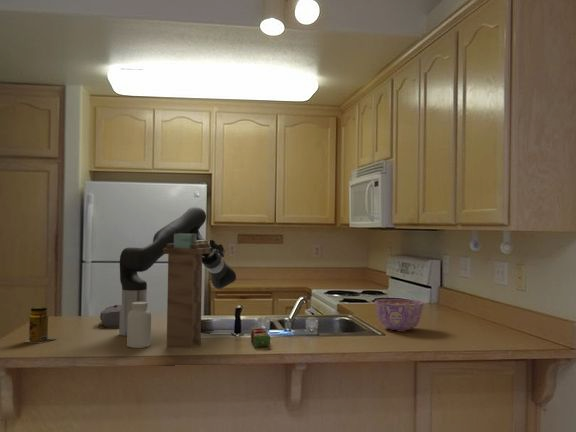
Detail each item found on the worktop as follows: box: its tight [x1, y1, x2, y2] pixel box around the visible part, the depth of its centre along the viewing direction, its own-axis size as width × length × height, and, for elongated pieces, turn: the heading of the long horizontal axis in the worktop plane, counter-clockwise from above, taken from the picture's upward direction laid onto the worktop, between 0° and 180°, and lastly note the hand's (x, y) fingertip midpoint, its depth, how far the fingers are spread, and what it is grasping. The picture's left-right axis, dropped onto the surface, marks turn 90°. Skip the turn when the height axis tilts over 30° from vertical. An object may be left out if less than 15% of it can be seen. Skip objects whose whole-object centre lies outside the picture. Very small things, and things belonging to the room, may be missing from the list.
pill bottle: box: [126, 301, 152, 349], centre depth 189 cm, size 8×8×15 cm
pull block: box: [174, 234, 209, 249], centre depth 200 cm, size 22×6×5 cm, turn 168°
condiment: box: [23, 306, 55, 344], centre depth 196 cm, size 7×8×12 cm
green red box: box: [250, 326, 271, 348], centre depth 195 cm, size 21×6×5 cm, turn 8°
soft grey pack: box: [99, 304, 122, 329], centre depth 232 cm, size 15×8×20 cm
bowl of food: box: [374, 298, 425, 332], centre depth 227 cm, size 20×20×12 cm
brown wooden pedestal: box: [163, 243, 211, 349], centre depth 194 cm, size 13×13×36 cm
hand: (200, 241), depth 206 cm, fingers open, 8 cm apart
